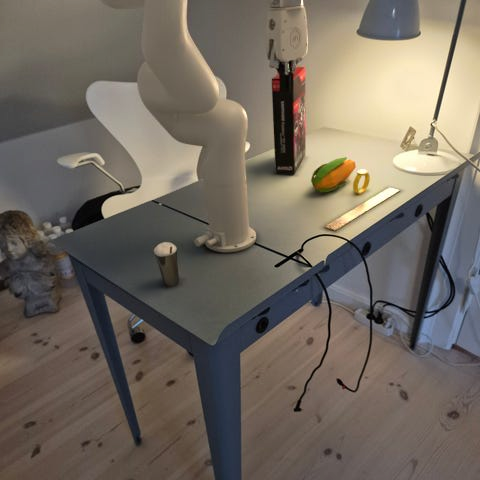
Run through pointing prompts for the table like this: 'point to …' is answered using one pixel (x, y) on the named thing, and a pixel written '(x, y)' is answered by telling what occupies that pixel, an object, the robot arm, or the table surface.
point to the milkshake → (167, 263)
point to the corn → (332, 174)
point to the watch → (357, 178)
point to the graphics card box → (289, 124)
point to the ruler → (361, 209)
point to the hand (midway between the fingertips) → (286, 91)
